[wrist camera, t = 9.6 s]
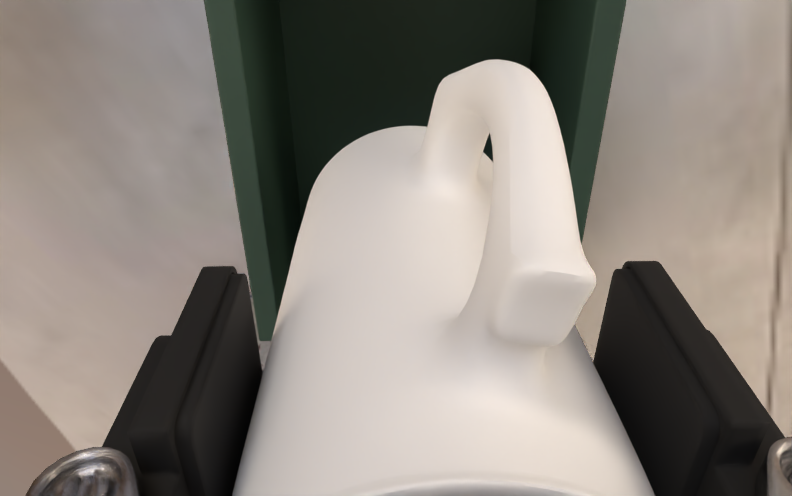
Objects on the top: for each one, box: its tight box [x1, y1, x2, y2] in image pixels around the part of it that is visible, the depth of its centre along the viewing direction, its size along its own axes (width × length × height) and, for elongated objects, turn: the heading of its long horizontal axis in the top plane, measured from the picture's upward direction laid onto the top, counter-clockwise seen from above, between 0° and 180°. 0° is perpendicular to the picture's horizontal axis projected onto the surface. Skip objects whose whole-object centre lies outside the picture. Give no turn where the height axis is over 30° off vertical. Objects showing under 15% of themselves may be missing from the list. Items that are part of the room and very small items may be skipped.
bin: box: [204, 0, 626, 341], centre depth 22 cm, size 11×14×8 cm
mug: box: [232, 59, 655, 496], centre depth 13 cm, size 10×7×12 cm, turn 168°
